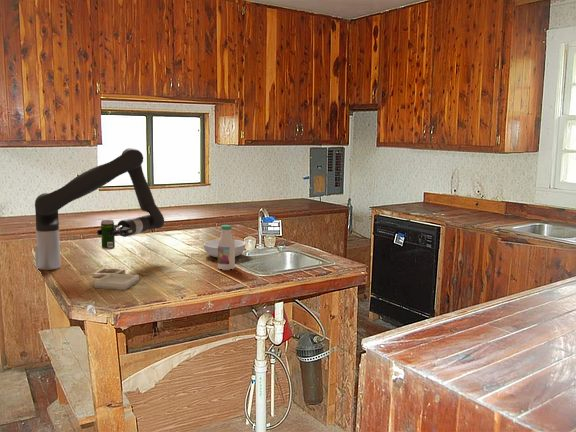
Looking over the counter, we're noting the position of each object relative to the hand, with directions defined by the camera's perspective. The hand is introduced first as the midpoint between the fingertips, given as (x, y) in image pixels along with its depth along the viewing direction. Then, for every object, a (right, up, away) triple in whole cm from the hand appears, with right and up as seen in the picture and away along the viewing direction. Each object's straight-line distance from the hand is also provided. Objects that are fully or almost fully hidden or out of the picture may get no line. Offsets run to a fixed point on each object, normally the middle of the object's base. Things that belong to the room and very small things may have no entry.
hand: (103, 233), depth 230 cm
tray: (+9, -20, -9) cm, 24 cm away
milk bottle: (+49, -17, +20) cm, 56 cm away
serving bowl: (+46, -13, +44) cm, 65 cm away
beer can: (+1, -7, +4) cm, 8 cm away
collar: (+1, -18, +5) cm, 19 cm away
